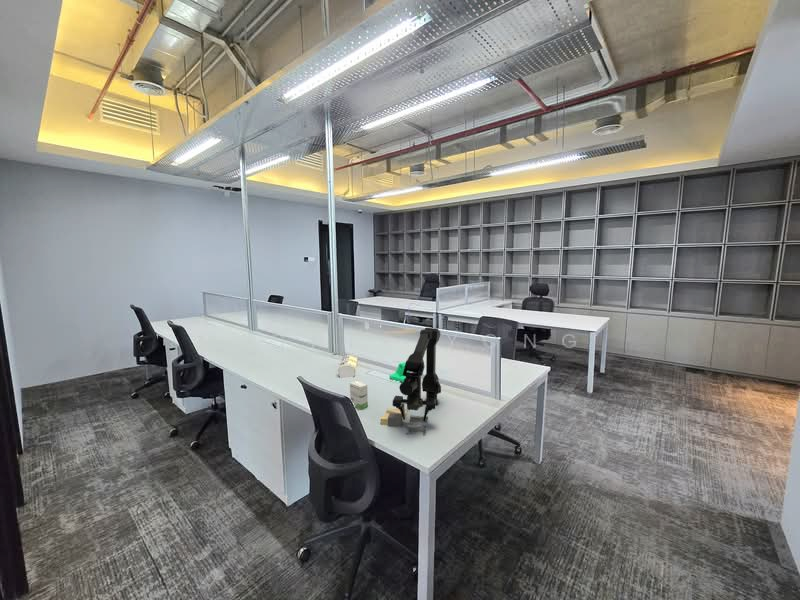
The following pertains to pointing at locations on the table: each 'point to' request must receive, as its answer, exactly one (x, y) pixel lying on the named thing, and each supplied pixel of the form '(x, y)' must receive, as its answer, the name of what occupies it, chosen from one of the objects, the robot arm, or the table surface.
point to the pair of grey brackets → (417, 427)
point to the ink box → (359, 394)
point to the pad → (394, 411)
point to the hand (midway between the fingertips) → (414, 420)
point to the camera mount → (399, 373)
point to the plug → (394, 420)
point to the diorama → (348, 366)
